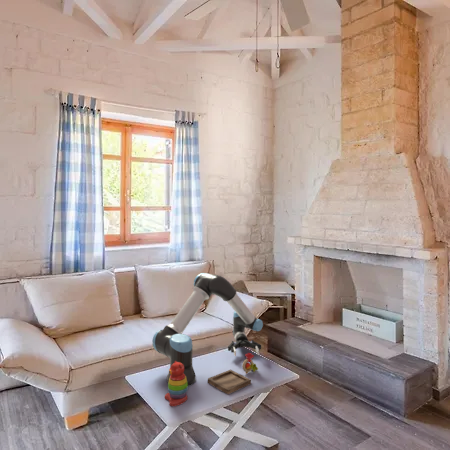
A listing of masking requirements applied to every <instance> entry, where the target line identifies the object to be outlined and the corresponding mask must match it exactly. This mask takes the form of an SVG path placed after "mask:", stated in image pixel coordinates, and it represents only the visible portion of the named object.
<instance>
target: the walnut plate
mask: <svg viewBox="0 0 450 450" xmlns="http://www.w3.org/2000/svg"><path fill="white" fill-rule="evenodd" d="M207 384H209V385H211V386H213V387H214V388H216V389H218V390H219V391H220V392H223V393H225V394H226V395H230V394H232V393H235V392H236V391H239V390H241V389H244V388H245V387H248V386H250V385H252V380H251V379H250V378H248V377H247V376H244V375H243V374H240V373H239V372H236V371H234V370H233V369H228V370H225V371H223V372H220V373H218V374H216V375H214V376H211V377H208V378H207Z"/></svg>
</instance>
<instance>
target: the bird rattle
mask: <svg viewBox="0 0 450 450" xmlns="http://www.w3.org/2000/svg"><path fill="white" fill-rule="evenodd" d="M244 356H245V357H246V359H244V360H243V362H242V364H241V365H242V369H243V372H244V373H245V374H247V375H248V374H249V373H250V372H251V371H253V372H254V373H255V372H256V371H258V370H259V368H258V367H257V364H256V363H254V362H253V360H252V359H253V358H255V355H254V354H253V353H250V352H247V353H245V355H244Z"/></svg>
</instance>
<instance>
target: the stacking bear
mask: <svg viewBox="0 0 450 450" xmlns="http://www.w3.org/2000/svg"><path fill="white" fill-rule="evenodd" d="M168 373H170V374H171V375H170V378H169V382H168V383H167V390H168V392H167V393H165V395H164V399H165V400H167V401H168V402H169V404H168V405H169V406H170V407H177V405H178V406H180V405H183V404H184V403H186V401H187V400H188V395H187V393H188V389H189V388H188V387H189V386H188V383H187V378H186V376H185V374H184V365H183V364H182V363H180V362H177V361H175V362H174V363H173V364H172V365H171V367H169V369H168Z"/></svg>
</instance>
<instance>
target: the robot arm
mask: <svg viewBox="0 0 450 450" xmlns="http://www.w3.org/2000/svg"><path fill="white" fill-rule="evenodd" d="M212 295H214V296H217V297H219V298H220V299H222V300H223V301H224V302H227V303H228V305H229V306H230V307H231V308H232V310H234V311H233V319H232V321H233V329H232V336H233V338H234V340H235V341H234V340H231V343H230V344H229V345H228V346H227V351H229V352H231V353H232V354H233V355H234V357H236V356H237V351H236V350H237V349H240V348H251V349H253V350H255V353H256V355H260V350H262V344H260V343H258V342H256V341H254V339H251V341H250V340H249V339H248V337H247V335H246V333H245V332H246V329H249V330H252V331H255V332H260V331H261V330H262V328H264V327H263V326H264V324H263V322H264V321H263V320H262V319H259V318H257V317H256V316H255V314H254V313H253V312H252V311H251V310H250V308H249V307H248V306H247V305H246V303H245V302H244V300H243V299H241V297H240V296H239V295H238V293H237V289H236V288H235V287H234V285H232V283H231V282H230V281H229V280H228V279H227V278H225V277H224V276H223V275H219V274H218V275H217V274H213V273H210V272H209V273H208V272H201V273H199V274H198V275H196V276H195V278H194V280H193V287H192V293H191V294H190V295H189V297H188V298H187V300H186V301H185V302H184V304H183V305H182V307H181V308H180V309H179V311H178V312H177V314H176V315H175V317H174V318H173V320H172V321H171V322H170V323H169V324H167V325H165V326H164V327H163V329H160V330H157V331H156V332H155V333H154V334H153V336H152V347H153V349H154V350H155V351H156V352H157V353H158V354H161V355H163V356H165V357H168V358H169V363H170V364H169V365H170V367H171V365H172V364H173V363H174V362H175V361H177V362H180V363H182V364H183V365H184V374H185V376H186V378H187V383H188V387H189V386H192V385H193V384H195V383H196V380H197V377H196V371H195V369H194V366H193V345H194V344H193V340H192V338H191V337H190V336H189V335H188V334H185V333H184V332H185V330H186V328H187V327H188V326H189V324H190V323H191V321H192V320H193V318H194V316H195V315H196V314H197V312H198V311H199V309H200V307H202V305H203V304H204V301H206V300H209V299H210V298H211V296H212ZM245 328H246V329H245ZM170 367H169V368H170ZM170 375H171V374H170V373H169V372H168V374H167V377H166V383H167V384H168V382H169V378H170Z"/></svg>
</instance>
